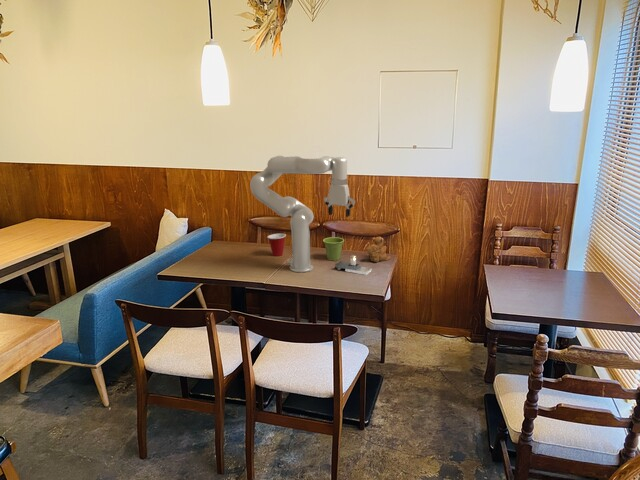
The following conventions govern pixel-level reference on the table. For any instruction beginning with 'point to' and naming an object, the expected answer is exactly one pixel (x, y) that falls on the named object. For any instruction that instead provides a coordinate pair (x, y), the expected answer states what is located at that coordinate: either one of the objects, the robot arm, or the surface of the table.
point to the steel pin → (353, 260)
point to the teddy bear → (377, 250)
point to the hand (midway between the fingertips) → (339, 215)
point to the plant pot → (333, 247)
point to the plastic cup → (277, 243)
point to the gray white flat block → (353, 268)
